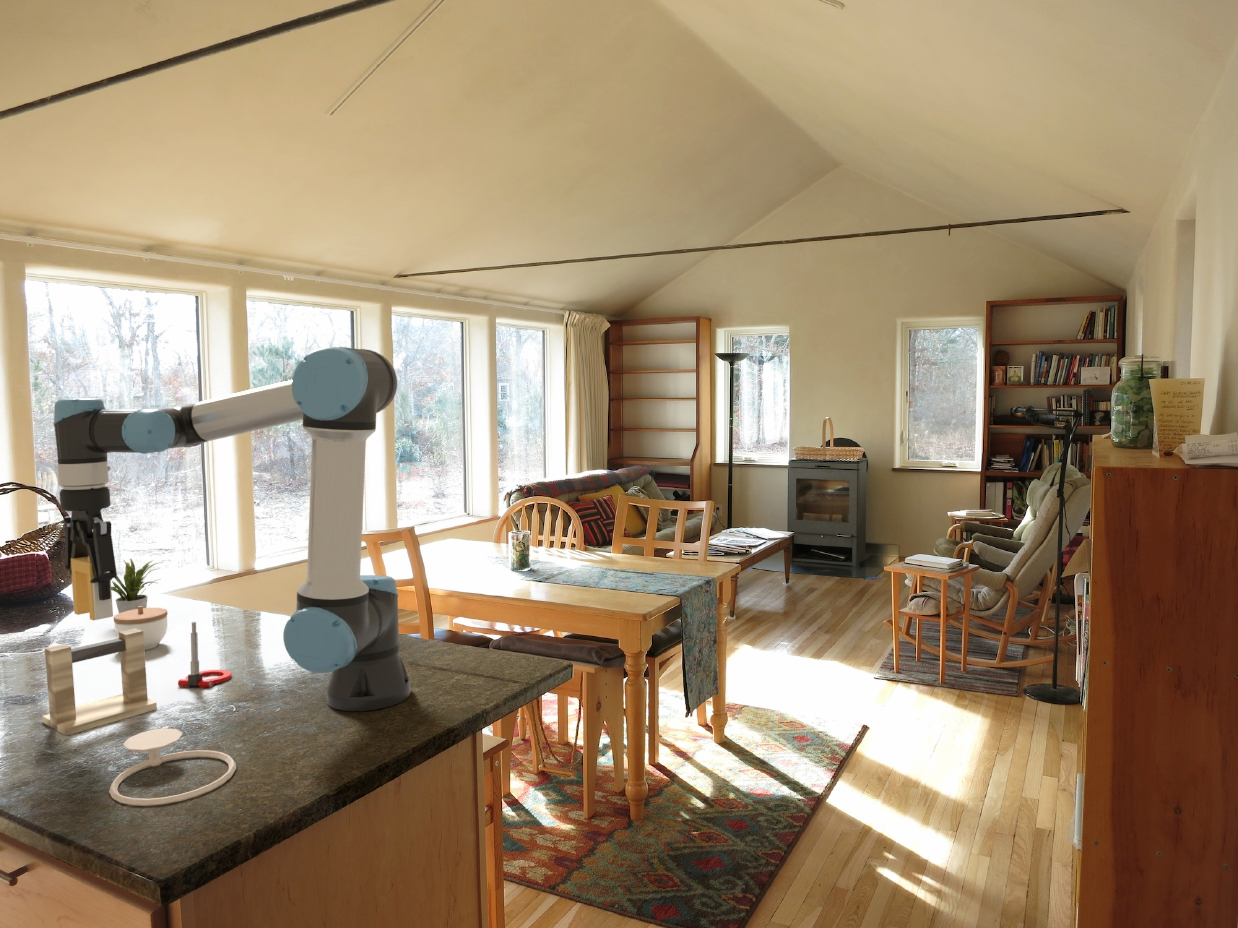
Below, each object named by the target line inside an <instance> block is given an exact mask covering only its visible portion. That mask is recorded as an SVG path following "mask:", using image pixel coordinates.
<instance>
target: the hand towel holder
mask: <svg viewBox="0 0 1238 928" xmlns="http://www.w3.org/2000/svg"><path fill="white" fill-rule="evenodd" d="M183 734H184V733H183V732H182V731H180V730H179V729H178V728H162V727H161V728H158V729H157V728H156V729H153V730H147V731H142V732H139V733H138V734H135V735H133V736H129V737H128V738H127V739H126V740H125V742H124V743H123V744H122V745H123V746H124V747H125V748H127V749H128V750H129V751H130V752H134V753H148V759H147V760H144V761H142V762H138V763H137V764H135V765H133V766H131V767H129V768H127V769H126V770H124V771H123V772H121V773H119V774H118V775H117V777H116V778H114V780H113V781H112V782H111V785H110V788H109V790H108V791H109V794H110V797H111V798H112V799H113V800H115V801H116V802H118V803H120V804H123V805H128V806H137V807H138V806H139V807H140V806H142V807H143V806H144V807H150V806H151V807H152V806H159V805H161V806H162V805H168V804H172V803H173V804H174V803H178V802H182V801H185V800H191V799H193V798H196V797H199V796H202V795H203V794H207V793H208V792H211V791H213V790H215V789H217V788H218V787H220V786H222V785H224V784H225V783H226V782H227V781H228V780H230V779H231V778H232V776H233V775H234V773H235V771H236V769H237V763H236V761H235V760H234V759H233V758H232V756H230V755H229V754H227V753H224V752H221V751H216V750H209V749H208V750H206V749H205V750H204V749H203V750H202V749H200V750H199V749H197V750H185V751H178V752H173V753H167V754H164V755H161V750H164V749H165V748H168V747H170V746H173V745H174V744H176V743H177V742H178V740H179V739H180V738H181V736H182V735H183ZM191 758H211V759H216V760H221V761H223V762H225V763H226V764H227V765H228V769H227V772H225V773H224V774H223V775H222V776H221V777H219V778H218V779H216V780H215V781H212V782H210V783H209V784H206V785H204V786H202V787H199V788H197V789H194V790H190V791H187V792H184V793H180V794H175V795H174V794H173V795H169V796H165V797H155V798H154V797H153V798H139V797H138V798H136V797H130V796H125V795H123V794H121V793H120V792H119V791H118V788H119V785H120V784H121V783H122V781H125V780H126V779H127V778H128V777H130V776H131V775H134V774H135V773H136V774H137V772H139V771H142V770H143V769H146V768H150V767H157V766H160V765H161V764H163V763H166V762H171V761H176V760H182V759H191Z"/></svg>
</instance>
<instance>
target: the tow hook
mask: <svg viewBox="0 0 1238 928" xmlns="http://www.w3.org/2000/svg"><path fill="white" fill-rule="evenodd" d="M198 646H199V641H198V632H197V621H192V622H191V632H190V649H191V650H190V652H191V653H190V655H191V656H190V657H191V661H190V674H187V676H185V679H184V678H180V679H179V680H178V681H177V686H178V687H185V688H186V687H187V688H198V689H199V688H206V689H207V688H209V689H210V688H212V686H213V685H215V684H220V683H224V682H226V681H228V680H230V679H231V678H232V672H231V671H229V670H225V669H208V670H201V671H200V660H199V647H198ZM208 676H218V677H215V678H207V679H203V677H208Z"/></svg>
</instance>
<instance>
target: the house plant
mask: <svg viewBox="0 0 1238 928" xmlns="http://www.w3.org/2000/svg"><path fill="white" fill-rule="evenodd" d="M123 562H124V564H125V573H124V575H123V581H124V583H123V582H122V580H121V579H120V578H119V576H118V575H117V577H116V578H114V580H115V581H116V582H117V583H118V584H117V583H116V582H115V581H113V580H111V584H112V585H113V586H111V591H113V592H115V593H117V594H118V595H119V596H120V597H117V598H116V599H115V603H116V607H117V610H118V614H119V613H122V612H125V611H129V610H134V609H138V606H143V608H148V607H147V605H148V595H146V594H143V592H144V591H142V589H145V585H147V584H150V585H152V584H153V583H155V584H158V582H156V581H158V580H161V578H160V579H155V580H153V581H146V582H144V579H145V578H147V576H148V575H149V574H150V573H151V572H153V571H155V570H158V568H155V569H152V570H150V568H152V567H153V566H155V565H157V564H163V561H161V562H156V563H153V564H150V563H152V562H153V560H151V561H149V562H147V563H146V564H144V565H143V566H142V567H141V568H139V569H138V570H136V566H135V564H134V561H133V559H132V558H130V563H129V562H127V561H125V560H123ZM149 564H150V565H149ZM148 570H149V571H148ZM146 572H147V573H146ZM144 575H145V576H144ZM119 585H120V586H119ZM158 585H159V584H158ZM140 591H142V592H141V593H140V594H139V592H140Z"/></svg>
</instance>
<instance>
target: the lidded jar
mask: <svg viewBox="0 0 1238 928" xmlns="http://www.w3.org/2000/svg"><path fill="white" fill-rule="evenodd" d="M113 622H114V629H115V631H114V632H115V634H116V637H117V638H116V639H118V638H119V632H122V631H126V630H131V629H135V628H136V629H139V630H142V631H143V637H144V651H145V650H146V651H147V650H152V649H154V648H156V647H158V646H159V643H160V642H161V641H162V640H163V639H164V638H165V635H166V633H167V628H168V610H167V609H166V608H163V607H146V608H143V606H138V609H134V610H129V611H125V612H122V613H119V612H118V613H117V614H115V615H113Z"/></svg>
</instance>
